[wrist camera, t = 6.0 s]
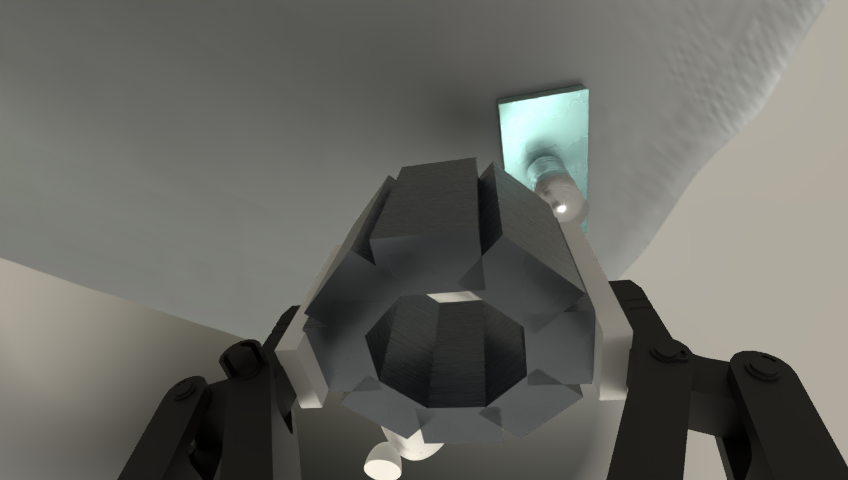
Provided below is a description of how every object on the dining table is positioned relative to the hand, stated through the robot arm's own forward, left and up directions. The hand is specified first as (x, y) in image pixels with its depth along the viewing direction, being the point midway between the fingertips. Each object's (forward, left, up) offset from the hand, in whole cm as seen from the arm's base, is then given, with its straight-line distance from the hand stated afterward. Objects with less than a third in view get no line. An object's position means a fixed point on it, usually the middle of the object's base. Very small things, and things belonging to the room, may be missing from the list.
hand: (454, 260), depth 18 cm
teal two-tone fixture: (+3, +7, -18) cm, 20 cm away
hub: (0, 0, 0) cm, 0 cm away
